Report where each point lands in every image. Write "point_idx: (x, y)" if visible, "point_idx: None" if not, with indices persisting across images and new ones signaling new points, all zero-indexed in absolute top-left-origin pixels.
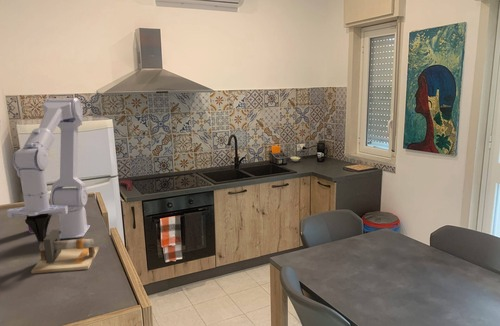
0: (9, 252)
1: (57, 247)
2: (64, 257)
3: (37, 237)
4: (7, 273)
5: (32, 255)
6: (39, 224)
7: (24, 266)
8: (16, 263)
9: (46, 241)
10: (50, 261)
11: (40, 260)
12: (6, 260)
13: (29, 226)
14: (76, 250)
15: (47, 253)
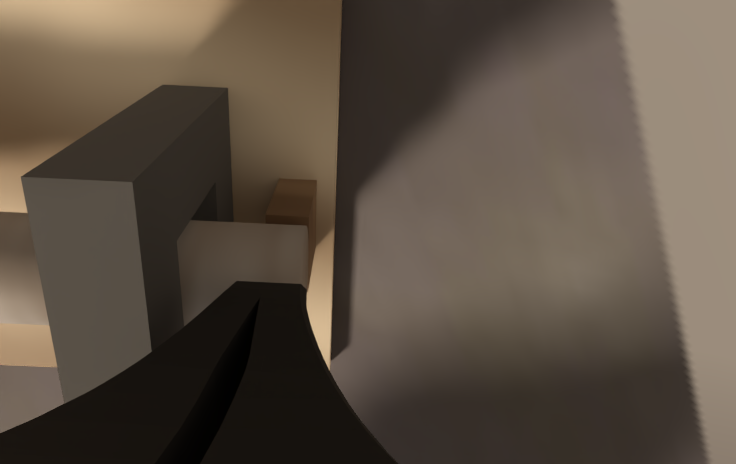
0: (664, 432)
1: None
2: None
3: (288, 308)
4: (592, 23)
5: (458, 344)
6: (103, 445)
7: (467, 143)
8: (558, 222)
9: (96, 165)
10: (183, 90)
11: (329, 188)
12: (659, 298)
13: (373, 437)
14: None
15: (174, 115)
